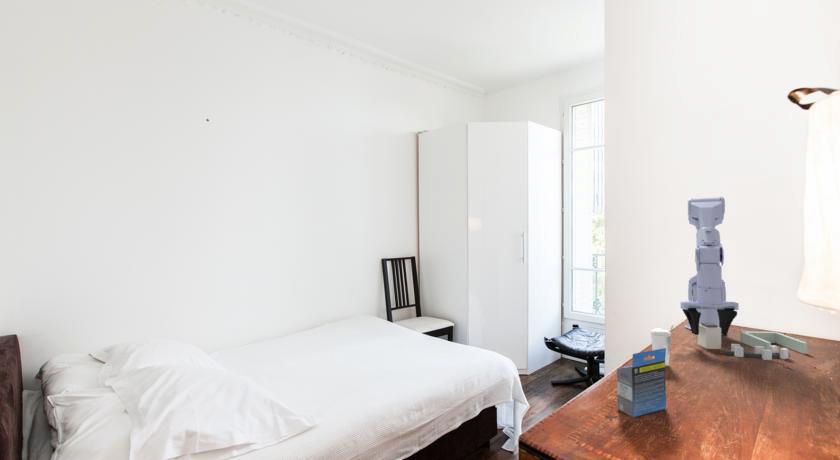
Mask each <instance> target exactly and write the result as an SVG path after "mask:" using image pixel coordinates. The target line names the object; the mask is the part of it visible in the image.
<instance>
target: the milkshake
mask: <svg viewBox="0 0 840 460" xmlns="http://www.w3.org/2000/svg"><path fill="white" fill-rule="evenodd" d="M673 328H674V325H671V327H670V329H669V330H668V329H667V330H666V329H663V328H659V327H658V328H657V327H656V328H653V329H651V330H650V338H651V339H650V340H651V347H652V348H651V351H652V350H658V349H663V348H666V355H665V367H668V366H669V365H670V353H671V344H672V343H671V342H672V333H671V332H672V330H673ZM654 358H655V357H654V356H652V359H654Z"/></svg>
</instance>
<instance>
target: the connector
mask: <svg viewBox="0 0 840 460" xmlns="http://www.w3.org/2000/svg"><path fill="white" fill-rule="evenodd" d="M697 345H698V346H699V347H702V348H704V349H706V350H722V335H721V328H720V327H718V325H715V324H713V323H701V324H699V334H698V335H697Z"/></svg>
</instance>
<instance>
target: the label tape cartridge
mask: <svg viewBox="0 0 840 460" xmlns="http://www.w3.org/2000/svg"><path fill="white" fill-rule="evenodd" d="M665 355H666V348H663V349H658V350H652V349H651V350H647V351H642V352H635V353H632V361H631V362H632V365H629V366H624V367H619V368H617V369H616V374H617V375H616V377H617V378H616V379H617V381H616V383H617V395H616V398H617V410H618V411H620V413H623V414H625V415H626V416H628V417H631V418H636V417H640V416H645V415H647V414H652V413H655V412H659V411H663V410H667V386H666V385H667V384H666V383H667V382H666V366H665ZM649 356H650V357H653V356H654V357H655V358H654V359H653V358H651V359H646V358H649ZM644 359H646V360H644Z"/></svg>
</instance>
